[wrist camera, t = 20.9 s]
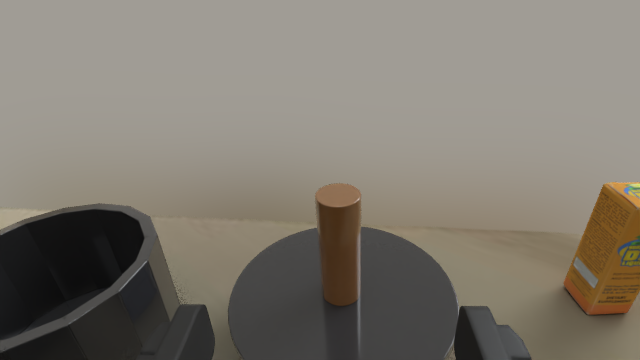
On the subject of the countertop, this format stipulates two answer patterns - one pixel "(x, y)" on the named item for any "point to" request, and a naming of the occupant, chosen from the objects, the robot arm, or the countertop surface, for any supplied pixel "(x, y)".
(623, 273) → the supplement box
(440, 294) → the lid
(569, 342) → the countertop surface
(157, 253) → the pot
